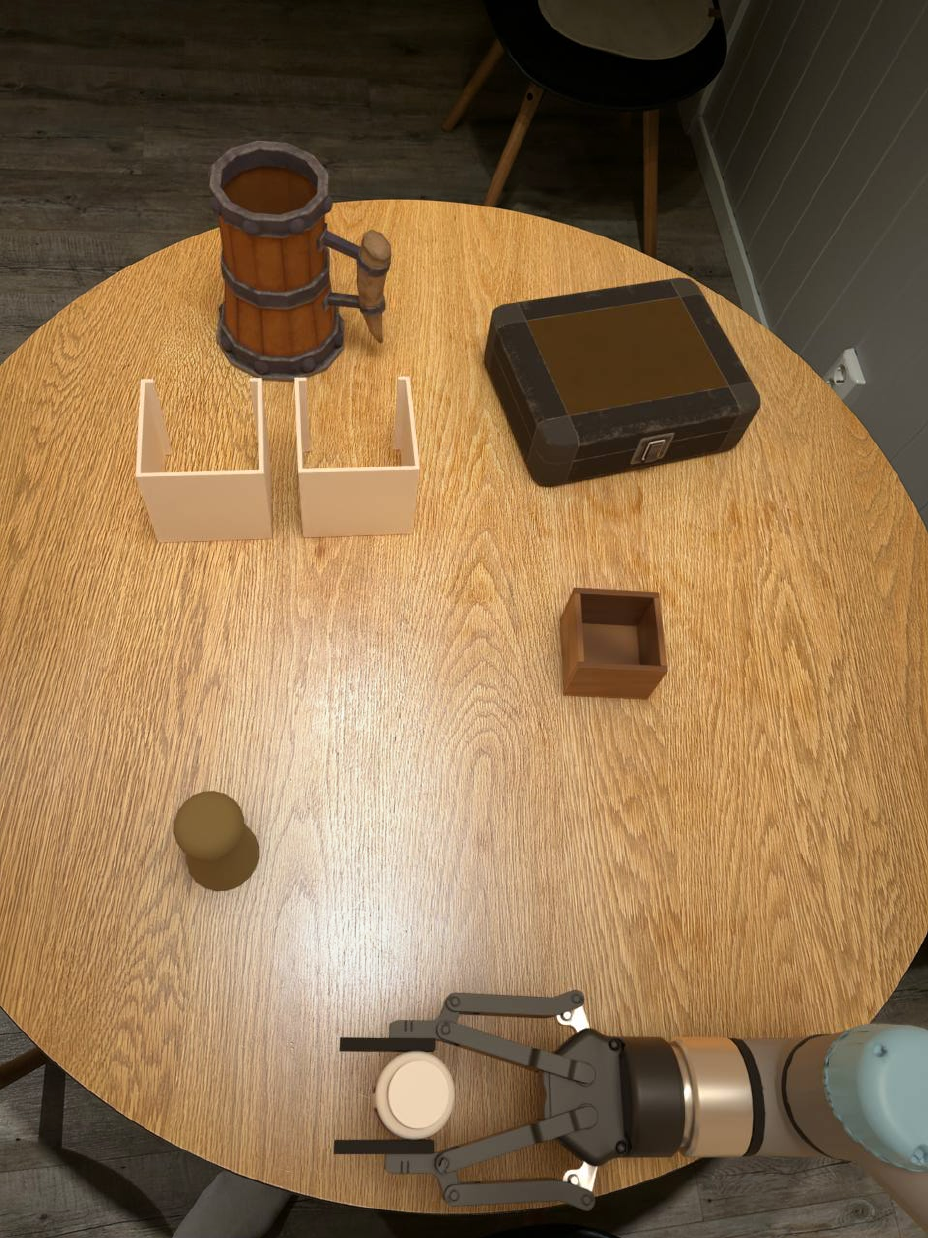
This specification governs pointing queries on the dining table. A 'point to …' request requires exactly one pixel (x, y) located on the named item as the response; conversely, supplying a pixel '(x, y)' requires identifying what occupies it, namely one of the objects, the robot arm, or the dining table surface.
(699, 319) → the cash box
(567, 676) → the wooden box
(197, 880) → the cork
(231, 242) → the mug
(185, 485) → the beige u-shaped pieces
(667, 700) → the dining table surface
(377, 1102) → the pill bottle
